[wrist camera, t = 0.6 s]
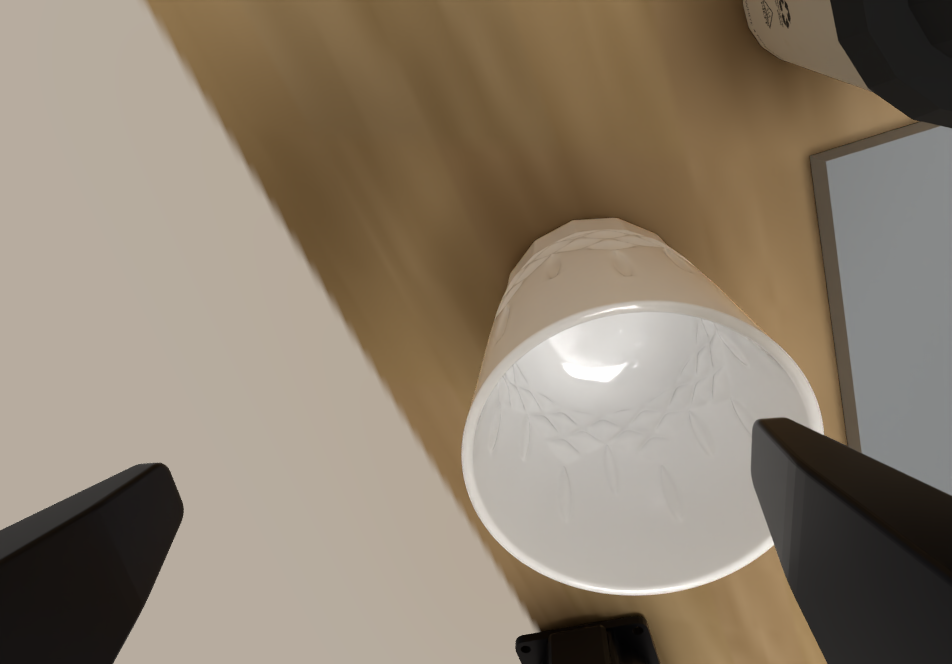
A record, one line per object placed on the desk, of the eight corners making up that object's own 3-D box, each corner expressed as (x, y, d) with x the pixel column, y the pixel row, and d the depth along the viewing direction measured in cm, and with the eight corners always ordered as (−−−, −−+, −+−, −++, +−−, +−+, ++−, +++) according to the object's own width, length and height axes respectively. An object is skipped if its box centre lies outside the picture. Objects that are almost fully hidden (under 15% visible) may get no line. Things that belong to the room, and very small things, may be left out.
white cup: (462, 234, 22) (413, 354, 13) (683, 170, 20) (806, 255, 11) (521, 414, 25) (515, 618, 16) (718, 370, 23) (839, 568, 14)
